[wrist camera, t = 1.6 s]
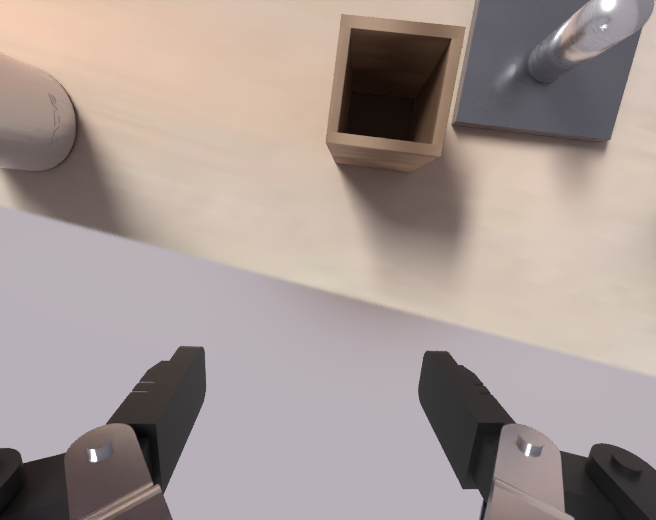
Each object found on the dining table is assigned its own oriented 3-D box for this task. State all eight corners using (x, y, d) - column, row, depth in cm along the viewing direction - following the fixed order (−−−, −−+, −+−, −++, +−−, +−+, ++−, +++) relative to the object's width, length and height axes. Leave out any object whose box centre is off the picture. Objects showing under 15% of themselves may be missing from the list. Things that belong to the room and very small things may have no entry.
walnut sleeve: (335, 162, 28) (325, 142, 18) (346, 82, 27) (341, 14, 17) (410, 172, 28) (440, 156, 18) (424, 91, 27) (465, 27, 17)
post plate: (451, 124, 27) (493, 91, 19) (477, -10, 25) (536, -111, 17) (598, 142, 26) (707, 115, 18) (636, 5, 24) (776, -92, 16)
